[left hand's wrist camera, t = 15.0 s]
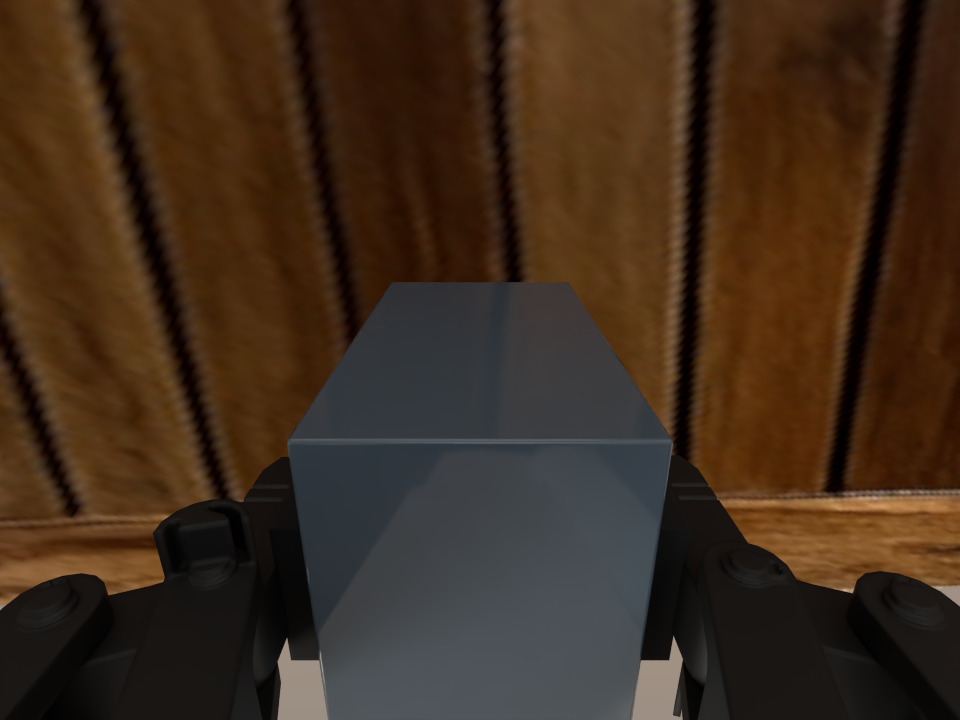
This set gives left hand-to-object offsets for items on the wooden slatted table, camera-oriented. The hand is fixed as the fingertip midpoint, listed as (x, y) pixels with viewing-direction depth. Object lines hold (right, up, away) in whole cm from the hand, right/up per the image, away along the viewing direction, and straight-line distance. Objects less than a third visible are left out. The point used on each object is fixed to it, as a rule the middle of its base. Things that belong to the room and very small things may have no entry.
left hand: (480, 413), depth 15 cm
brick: (0, 0, +1) cm, 1 cm away
